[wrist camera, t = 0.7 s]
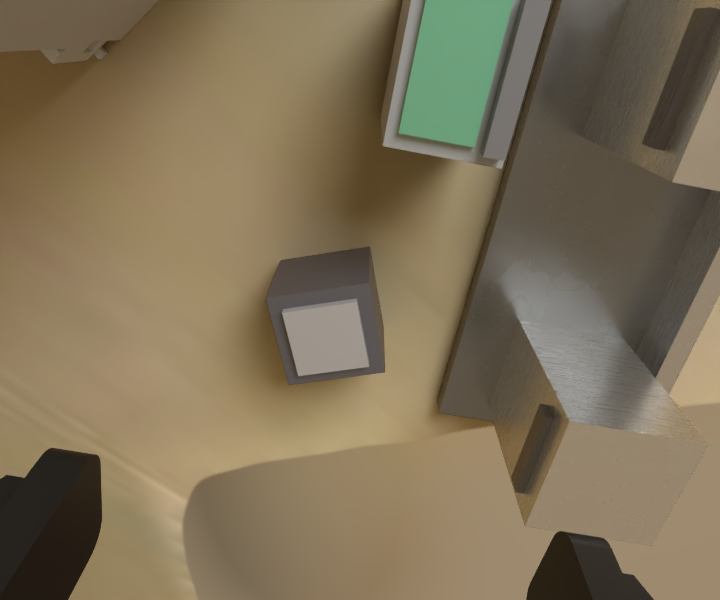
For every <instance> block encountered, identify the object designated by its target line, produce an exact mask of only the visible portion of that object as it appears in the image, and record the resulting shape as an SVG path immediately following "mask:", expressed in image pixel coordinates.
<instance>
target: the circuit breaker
mask: <svg viewBox="0 0 720 600" xmlns="http://www.w3.org/2000/svg"><path fill="white" fill-rule="evenodd" d="M158 1H159V0H0V52H12V51H32V50H40V51H41V52H42V54H43V55H44V56H45V57H46V58H47V59H48V60H49V61H50V62H51V63H52V64H58V63H69V62H79V61H87V60H88V59H89V58H90V57H91V56H92V55H93V54H94V55H95V56H96V57H97V58H98V60H100V59H103V58H104V57H105V56H106V55H107V54H108V53H107V51H106V50H105V49H104V48H103V47H102V46H103V45H104V43H105V42H106V41H112V40H121V39H122V38H123V37H124V36H125V35H126V34H127V33H128V32H129V31H130V30H131V29H132V28H133V27H134V26H135V25H136V24H137V23H138V22H139V21H140V20H141V19H142V18H143V17H144V16H145V14H146V13H147V12H148V11H149V10H150V9H151V8H152V7H153V6H154V5H155V4H156V3H157V2H158Z"/></svg>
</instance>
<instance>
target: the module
mask: <svg viewBox="0 0 720 600" xmlns="http://www.w3.org/2000/svg"><path fill="white" fill-rule="evenodd" d="M551 2H552V0H403V1H402V6H401V12H400V17H399V22H398V27H397V33H396V38H395V43H394V48H393V54H392V59H391V64H390V70H389V75H388V80H387V85H386V91H385V96H384V101H383V107H382V112H381V130H382V144H383V146H385V147H390V148H395V149H400V150H406V151H411V152H416V153H421V154H427V155H432V156H437V157H442V158H448V159H453V160H458V161H463V162H469V163H474V164H479V165H484V166H490V167H495V168H500V169H502V166H503V163H504V161H505V159H506V156H507V153H508V149H509V146H510V142H511V139H512V135H513V132H514V129H515V125H516V122H517V118H518V115H519V111H520V108H521V105H522V101H523V98H524V94H525V91H526V87H527V84H528V81H529V77H530V74H531V70H532V67H533V63H534V60H535V57H536V53H537V50H538V46H539V43H540V39H541V36H542V33H543V29H544V26H545V22H546V19H547V15H548V12H549V9H550V5H551Z"/></svg>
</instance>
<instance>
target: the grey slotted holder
mask: <svg viewBox="0 0 720 600" xmlns="http://www.w3.org/2000/svg"><path fill="white" fill-rule="evenodd" d="M719 295H720V0H555V1H554V4H553V7H552V11H551V14H550V18H549V21H548V24H547V28H546V31H545V35H544V38H543V42H542V45H541V48H540V52H539V55H538V59H537V62H536V65H535V69H534V72H533V76H532V79H531V82H530V86H529V89H528V93H527V96H526V99H525V103H524V106H523V110H522V113H521V117H520V120H519V123H518V127H517V130H516V134H515V137H514V140H513V144H512V147H511V151H510V154H509V157H508V161H507V164H506V168H505V171H504V174H503V178H502V181H501V185H500V188H499V192H498V195H497V198H496V202H495V205H494V209H493V212H492V215H491V219H490V222H489V226H488V229H487V232H486V236H485V239H484V243H483V246H482V249H481V253H480V256H479V260H478V263H477V267H476V270H475V273H474V277H473V280H472V284H471V287H470V290H469V294H468V297H467V301H466V304H465V307H464V311H463V314H462V318H461V321H460V324H459V328H458V331H457V335H456V338H455V342H454V345H453V348H452V352H451V355H450V359H449V362H448V365H447V369H446V372H445V376H444V379H443V382H442V386H441V389H440V393H439V396H438V399H437V404H438V410H439V413H443V414H449V415H455V416H461V417H468V418H474V419H480V420H486V421H492V422H493V423H494V426H495V429H496V433H497V436H498V439H499V443H500V446H501V449H502V452H503V456H504V459H505V462H506V466H507V469H508V472H509V475H510V478H511V482H512V485H513V489H514V492H515V495H516V498H517V502H518V505H519V508H520V512H521V515H522V518H523V521H524V525H525V527H532V528H539V529H545V530H551V531H558V532H559V531H564V532H570V533H577V534H583V535H589V536H595V537H601V538H603V539H610V540H616V541H623V542H629V543H636V544H642V545H649V546H652V544H653V542H654V540H655V539H656V537H657V535H658V533H659V532H660V530H661V528H662V526H663V524H664V523H665V521H666V519H667V518H668V516H669V514H670V512H671V511H672V509H673V507H674V505H675V504H676V502H677V500H678V499H679V497H680V495H681V493H682V492H683V490H684V488H685V486H686V485H687V483H688V481H689V479H690V478H691V476H692V474H693V472H694V471H695V469H696V467H697V465H698V464H699V462H700V460H701V458H702V456H703V455H704V453H705V451H706V450H707V448H708V446H709V443H708V442H707V441H706V440H705V439H704V437H703V436H702V435H701V434H700V432H699V431H698V430H697V429H696V427H694V425H693V424H692V423H691V421H690V420H689V419H688V418H687V416H686V415H685V414H684V413H683V412H682V410H681V409H680V408H679V407H678V405H677V404H676V403H675V402H674V400H673V399H672V398H671V397H670V395H669V394H670V392H671V390H672V388H673V386H674V384H675V382H676V380H677V378H678V376H679V374H680V372H681V370H682V368H683V366H684V364H685V362H686V360H687V358H688V356H689V354H690V352H691V350H692V348H693V346H694V344H695V342H696V340H697V338H698V337H699V335H700V333H701V331H702V329H703V327H704V325H705V323H706V321H707V319H708V317H709V315H710V313H711V311H712V309H713V307H714V305H715V303H716V301H717V299H718V297H719Z"/></svg>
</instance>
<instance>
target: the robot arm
mask: <svg viewBox="0 0 720 600" xmlns="http://www.w3.org/2000/svg"><path fill="white" fill-rule="evenodd" d="M101 522H102V500H101V465H100V458H99V456H98V455H94V454H88V453H81V452H75V451H69V450H63V449H56V448H50V449H48V450H47V451H46V452H45V453H44V454H43V455H42V456H41V457H40V458H39V460H38V461H37V462H36V464H35V465H34V466H33V468H32V469H31V470H30V472H29V473H28V474H27V476H26V477H25V478H22V477H15V476H9V475H6V476H5V477H3V478H2V479H0V600H68V599H69V597H70V595H71V593H72V591H73V589H74V587H75V585H76V583H77V582H78V580H79V578H80V576H81V574H82V572H83V570H84V568H85V566H86V564H87V563H88V561H89V559H90V557H91V555H92V553H93V550H94V548H95V545H96V542H97V539H98V536H99V532H100V528H101ZM527 600H653V598H652V597H651V596H650V595H649V593H648V592H647V591H646V590H645V588H644V587H643V586H642V585H641V584H640V582H639V581H638V580H637V579H636V578H635V576H634V575H629V574H624V573H622V571H621V570H620V567H619V565H618V562H617V560H616V558H615V555H614V553H613V551H612V549H611V547H610V545H609V543H608V542H607V541H606V540H605V539H603V538H601V537H595V536H589V535H583V534H577V533H570V532H564V531H559V532H557V533H556V534H555V535H554V537H553V539H552V541H551V543H550V545H549V547H548V549H547V551H546V553H545V555H544V557H543V559H542V561H541V563H540V565H539V567H538V569H537V571H536V573H535V575H534V577H533V579H532V581H531V583H530V585H529V588H528V593H527Z"/></svg>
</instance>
